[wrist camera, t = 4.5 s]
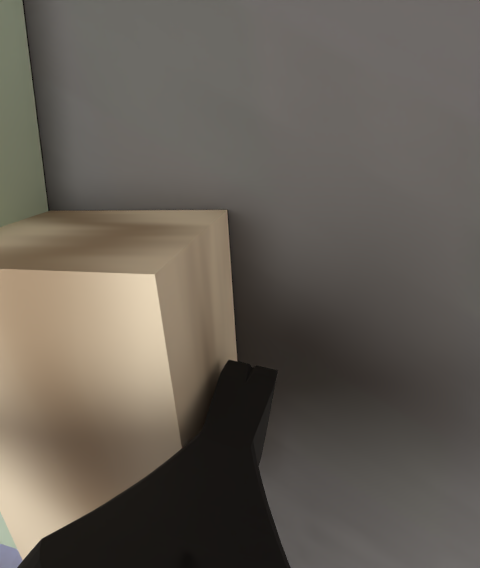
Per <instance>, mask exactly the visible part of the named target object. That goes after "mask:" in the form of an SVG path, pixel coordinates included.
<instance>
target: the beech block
mask: <svg viewBox="0 0 480 568" xmlns="http://www.w3.org/2000/svg"><path fill="white" fill-rule="evenodd" d="M228 360H233V361H237V349H236V334H235V319H234V304H233V289H232V274H231V259H230V244H229V229H228V214H227V210H102V211H47V212H44V213H41V214H38V215H35V216H32V217H29V218H26V219H23V220H20V221H17V222H14V223H11V224H8V225H5V226H2V227H0V512H1V514H2V517H3V519H4V521H5V523H6V525H7V527H8V530H9V532H10V534H11V536H12V538H13V541H14V543H15V545H16V547H17V549H18V551H19V554H20V556H21V558H22V560H24V558H25V557H26V556H27V555H28V554H29V553H30V551H31V550H32V549H33V548H34V547H35V546H36V544H37V543H38V542H39V541H40V540H41V539H42V538H44V537H46V536H47V535H49V534H51V533H53V532H55V531H57V530H59V529H60V528H62V527H64V526H66V525H68V524H70V523H71V522H73V521H75V520H77V519H79V518H80V517H82V516H84V515H86V514H88V513H90V512H91V511H93V510H95V509H96V508H98V507H100V506H101V505H103V504H105V503H106V502H108V501H109V500H111V499H112V498H114V497H116V496H117V495H119V494H120V493H122V492H123V491H125V490H126V489H128V488H129V487H131V486H133V485H134V484H136V483H137V482H139V481H140V480H141V479H143V478H144V477H146V476H147V475H148V474H150V473H151V472H153V471H154V470H155V469H156V468H158V467H159V466H160V465H162V464H163V463H164V462H166V461H167V460H168V459H169V458H171V457H172V456H173V455H174V454H176V453H177V452H178V451H179V450H180V449H182V448H183V447H184V446H185V445H186V444H187V443H188V442H190V441H191V440H192V439H193V438H194V437H195V436H196V435H197V434H198V433H199V432H200V431H201V430H202V428H203V425H204V422H205V419H206V416H207V413H208V410H209V407H210V403H211V400H212V397H213V394H214V391H215V388H216V385H217V381H218V378H219V375H220V373H221V371H222V369H223V368H224V366H225V364H226V363H227V361H228Z"/></svg>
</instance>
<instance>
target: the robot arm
mask: <svg viewBox="0 0 480 568" xmlns="http://www.w3.org/2000/svg"><path fill="white" fill-rule="evenodd" d="M276 376H277V370H273V369H269V368H264V367H260V366H256V367H254V368H252V367H251V366H250V365H249V364H246V363H242V362H237V361H233V360H228V361H227V363H226V364H225V366H224V368H223V369H222V371H221V373H220V375H219V378H218V381H217V385H216V388H215V391H214V394H213V397H212V400H211V403H210V407H209V410H208V413H207V416H206V419H205V422H204V425H203V428H202V430H201V431H200V432H199V433H198V434H197V435H196V436H195V437H194V438H193V439H192V440H191V441H190V442H188V443H187V444H186V445H185V446H184V447H183V448H182V449H180V450H179V451H178V452H177V453H176V454H174V455H173V456H172V457H171V458H169V459H168V460H167V461H166V462H164V463H163V464H162V465H160V466H159V467H158V468H156V469H155V470H154V471H153V472H151V473H150V474H148V475H147V476H146V477H144V478H143V479H141V480H140V481H139V482H137V483H136V484H134V485H133V486H131V487H129V488H128V489H126V490H125V491H123V492H122V493H120V494H119V495H117V496H116V497H114V498H112V499H111V500H109V501H108V502H106V503H105V504H103V505H101V506H100V507H98V508H96V509H95V510H93V511H91V512H90V513H88V514H86V515H84V516H82V517H80V518H79V519H77V520H75V521H73V522H71V523H70V524H68V525H66V526H64V527H62V528H60V529H59V530H57V531H55V532H53V533H51V534H49V535H47V536H46V537H44V538H42V539H41V540H40V541H39V542H38V543H37V544H36V546H35V547H34V548H33V549H32V550H31V551H30V553H29V554H28V555H27V556H26V557H25V558H24V560H22V558H21V556H20V554H19V551H18V549H15V548H12V547H9V546H6V545H3V544H0V568H290V565H289V563H288V560H287V557H286V555H285V552H284V550H283V547H282V544H281V541H280V538H279V535H278V532H277V529H276V526H275V523H274V520H273V517H272V514H271V511H270V508H269V505H268V502H267V498H266V495H265V491H264V487H263V484H262V480H261V476H260V471H259V467H258V466H259V463H260V459H261V455H262V450H263V445H264V440H265V435H266V430H267V425H268V419H269V414H270V409H271V403H272V398H273V392H274V387H275V381H276Z"/></svg>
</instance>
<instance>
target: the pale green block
mask: <svg viewBox="0 0 480 568" xmlns="http://www.w3.org/2000/svg"><path fill="white" fill-rule="evenodd" d="M47 211H48V204H47V196H46V188H45V180H44V171H43V163H42V155H41V147H40V139H39V131H38V123H37V115H36V107H35V99H34V91H33V83H32V75H31V66H30V58H29V50H28V42H27V34H26V26H25V18H24V10H23V2H22V0H0V227H2V226H5V225H8V224H11V223H14V222H17V221H20V220H23V219H26V218H29V217H32V216H35V215H38V214H41V213H44V212H47ZM0 544H3V545H6V546H9V547H12V548H15V549H17V547H16V545H15V543H14V541H13V538H12V536H11V534H10V532H9V530H8V527H7V525H6V523H5V521H4V519H3V517H2V514H1V512H0Z"/></svg>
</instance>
